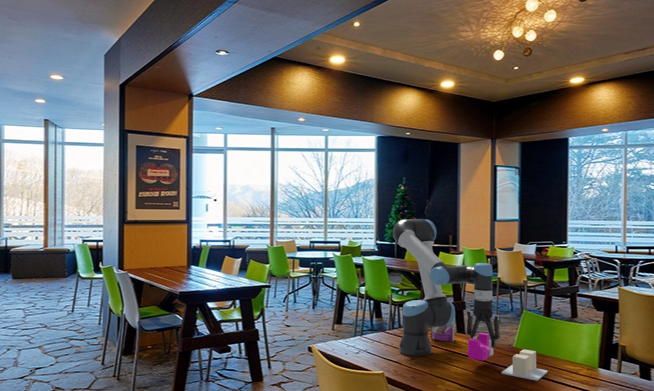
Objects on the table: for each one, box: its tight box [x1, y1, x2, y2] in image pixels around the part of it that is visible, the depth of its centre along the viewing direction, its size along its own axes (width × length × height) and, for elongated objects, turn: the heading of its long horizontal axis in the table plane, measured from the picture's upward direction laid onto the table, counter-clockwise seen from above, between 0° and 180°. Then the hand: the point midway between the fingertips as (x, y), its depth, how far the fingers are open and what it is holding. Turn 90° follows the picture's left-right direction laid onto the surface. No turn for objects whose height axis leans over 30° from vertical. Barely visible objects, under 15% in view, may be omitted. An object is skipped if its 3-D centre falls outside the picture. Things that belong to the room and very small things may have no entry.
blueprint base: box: [501, 349, 549, 381], centre depth 202 cm, size 14×14×8 cm
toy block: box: [467, 332, 490, 361], centre depth 212 cm, size 15×6×8 cm, turn 144°
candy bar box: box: [430, 318, 455, 343], centre depth 256 cm, size 11×5×16 cm, turn 66°
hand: (482, 353), depth 213 cm, fingers closed on toy block, 6 cm apart
